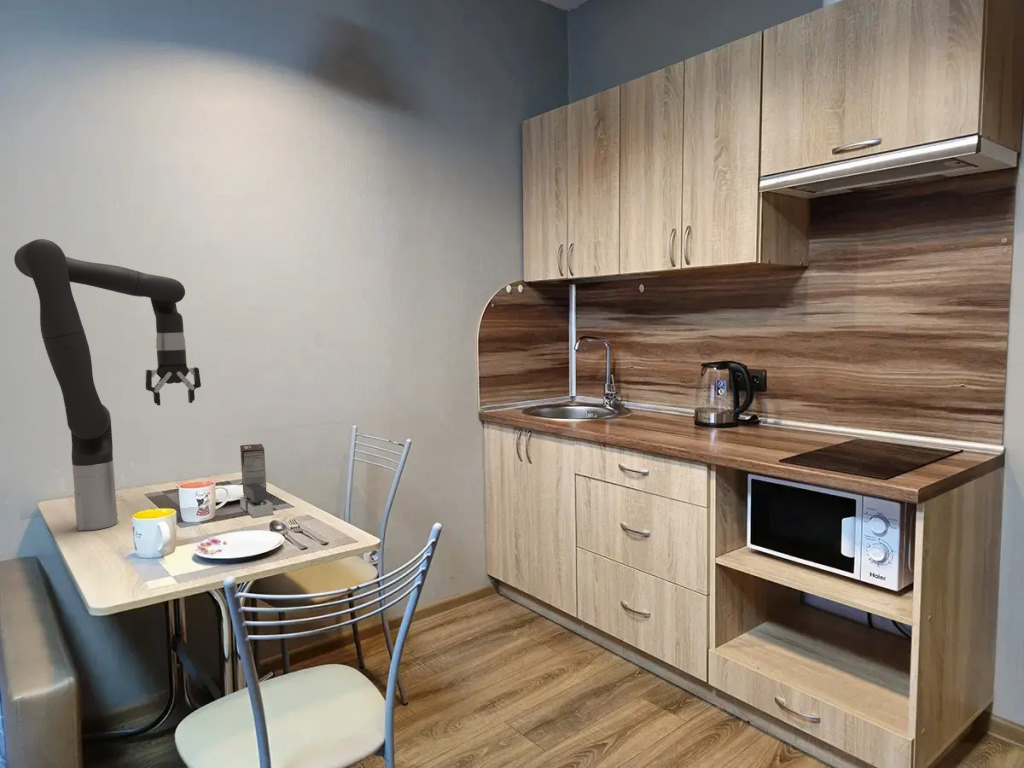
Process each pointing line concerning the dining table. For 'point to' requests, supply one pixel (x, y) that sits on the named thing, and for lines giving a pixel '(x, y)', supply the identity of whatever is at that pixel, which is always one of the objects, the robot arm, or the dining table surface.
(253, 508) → the grey stone base block
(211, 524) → the dining table surface
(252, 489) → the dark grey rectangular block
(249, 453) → the coffee box
